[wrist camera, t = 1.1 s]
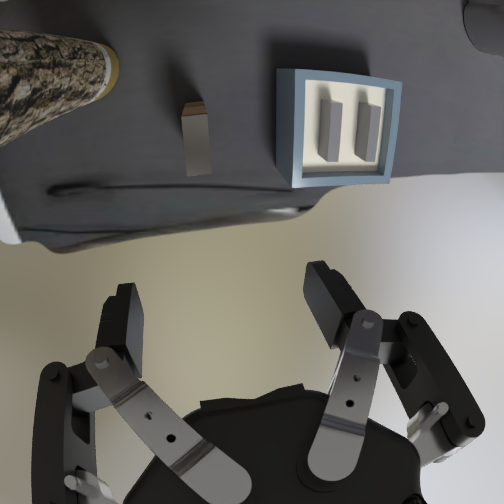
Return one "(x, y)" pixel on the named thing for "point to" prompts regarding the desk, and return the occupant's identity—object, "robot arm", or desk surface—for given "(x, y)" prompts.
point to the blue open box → (335, 127)
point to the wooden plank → (196, 138)
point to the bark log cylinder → (49, 78)
